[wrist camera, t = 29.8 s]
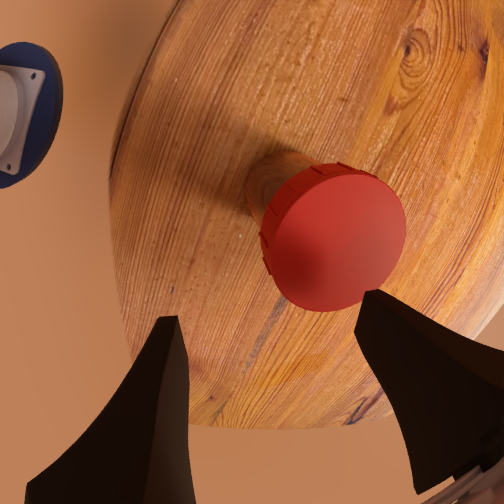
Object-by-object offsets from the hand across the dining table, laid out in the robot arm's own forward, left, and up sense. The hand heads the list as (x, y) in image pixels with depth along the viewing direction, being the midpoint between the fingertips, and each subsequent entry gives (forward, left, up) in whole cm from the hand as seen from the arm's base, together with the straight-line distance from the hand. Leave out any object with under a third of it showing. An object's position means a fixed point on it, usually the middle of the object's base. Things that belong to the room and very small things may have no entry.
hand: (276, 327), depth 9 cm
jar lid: (+2, +3, -2) cm, 4 cm away
